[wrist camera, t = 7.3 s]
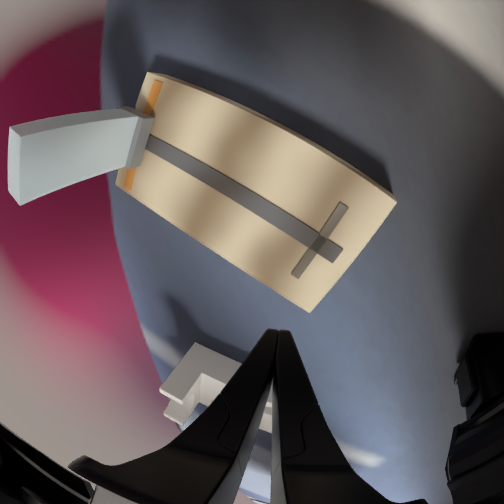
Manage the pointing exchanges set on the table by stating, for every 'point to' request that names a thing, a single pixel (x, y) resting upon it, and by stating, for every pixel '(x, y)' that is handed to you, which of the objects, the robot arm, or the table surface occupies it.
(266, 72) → the table surface
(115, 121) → the fader tab
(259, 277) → the slider board
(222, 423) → the robot arm
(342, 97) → the table surface
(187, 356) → the bracket
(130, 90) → the table surface
